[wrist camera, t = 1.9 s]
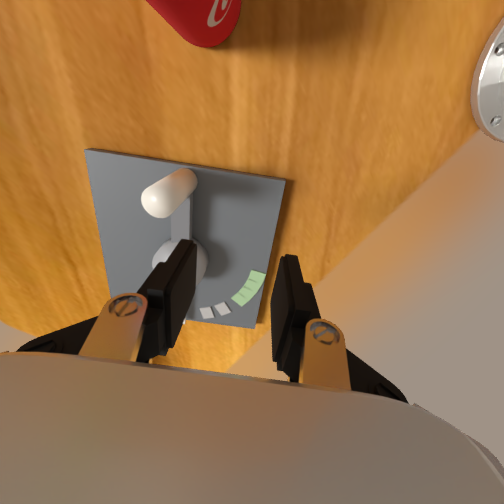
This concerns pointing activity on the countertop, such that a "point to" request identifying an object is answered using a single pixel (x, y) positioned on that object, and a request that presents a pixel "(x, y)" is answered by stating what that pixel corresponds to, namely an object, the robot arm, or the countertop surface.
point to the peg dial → (175, 214)
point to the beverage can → (200, 19)
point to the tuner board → (203, 230)
